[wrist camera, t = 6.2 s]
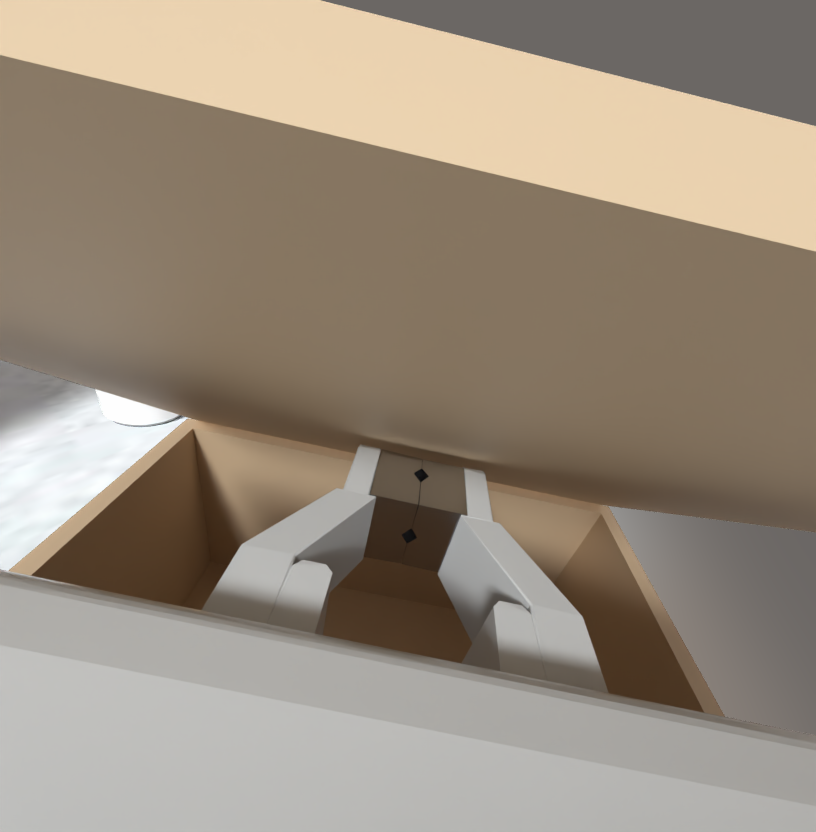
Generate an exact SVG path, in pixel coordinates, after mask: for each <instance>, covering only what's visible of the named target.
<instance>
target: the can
mask: <svg viewBox="0 0 816 832" xmlns="http://www.w3.org/2000/svg"><path fill="white" fill-rule="evenodd" d="M95 391H96V394H97V397H98V401H99V404H100V407H101V410H102V413H103V414H104V416H105V417H107V418H108V419H110V420H112V421H114V422H116V423H118V424H121V425H125V426H133V427H145V426H154V425H159V424H163V423H166V422H169V421H172V420H174V419H176V418H178V417H179V416H181V415H178V414H175V413H172V412H168V411H165V410H162V409H159V408H155V407H152V406H149V405H146V404H142V403H139V402H136V401H133V400H129V399H126V398H123V397H120V396H116V395H113V394H110V393H106V392H103V391H100V390H97V389H95Z"/></svg>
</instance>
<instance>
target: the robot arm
mask: <svg viewBox="0 0 816 832" xmlns="http://www.w3.org/2000/svg"><path fill="white" fill-rule="evenodd" d="M363 557H367V558H372V559H378V560H383V561H389V562H394V563H400V564H404V565H408V566H413V567H417V568H421V569H425V570H429V571H433V572H438V576H439V578H440V580H441V582H442V584H443V586H444V588H445V590H446V592H447V594H448V596H449V598H450V600H451V602H452V604H453V606H454V608H455V610H456V612H457V614H458V616H459V618H460V620H461V622H462V624H463V626H464V628H465V630H466V632H467V634H468V636H469V638H470V640H471V642H472V645H471V647H470V649H469V651H468V652H467V654H466V656H465V658H464V659H463V661H462V663H457V662H452V661H447V660H442V659H437V658H432V657H427V656H422V655H417V654H413V653H408V652H403V651H398V650H393V649H388V648H383V647H378V646H373V645H368V644H364V643H359V642H354V641H349V640H344V639H339V638H334V637H329V636H324V635H323V630H324V624H325V618H326V611H327V605H328V598H329V593H330V592H331V591H332V590H333V589H334V588H335V587H336V586H337V585H338V584H339V583H340V582H341V581H342V580H343V579H344V578H345V577H346V576H347V575H348V574H349V573H350V572H351V571H352V570H353V569H354V568H355V567H356V566H357V565H358V564H359V563H360V562H361V561H362V560H363ZM401 561H402V563H401ZM0 832H816V735H811V734H806V733H801V732H796V731H791V730H786V729H781V728H776V727H771V726H767V725H762V724H757V723H752V722H747V721H742V720H737V719H733V718H728V717H723V716H718V715H713V714H708V713H703V712H698V711H693V710H688V709H684V708H679V707H674V706H669V705H664V704H659V703H654V702H649V701H644V700H639V699H634V698H629V697H625V696H620V695H615V694H610V693H609V692H608V690H607V687H606V684H605V681H604V678H603V675H602V672H601V669H600V666H599V663H598V660H597V657H596V654H595V651H594V648H593V646H592V643H591V640H590V637H589V634H588V631H587V628H586V625H585V622H584V619H583V617H582V615H581V614H580V613H579V612H578V611H577V610H576V609H575V608H574V606H573V605H572V604H571V603H570V602H569V601H568V600H567V598H566V597H565V596H564V595H563V594H562V593H561V592H560V591H559V589H558V588H557V587H556V586H555V585H554V584H553V583H552V582H551V580H550V579H549V578H548V577H547V576H546V575H545V574H544V573H543V571H542V570H541V569H540V568H539V567H538V566H537V565H536V564H535V562H534V561H533V560H532V559H531V558H530V557H529V556H528V554H527V553H526V552H525V551H524V550H523V549H522V548H521V547H520V545H519V544H518V543H517V542H516V541H515V540H514V539H513V538H512V536H511V535H510V534H509V533H508V532H507V531H506V530H505V529H504V527H503V526H502V525H501V524H500V523H497V522H493V516H492V510H491V504H490V498H489V492H488V486H487V481H486V475H485V473H484V472H483V471H480V470H475V469H470V468H465V467H463V468H461V467H456V466H452V465H447V464H442V463H437V462H433V461H428V460H423V459H421V458H417V457H412V456H408V455H404V454H400V453H396V452H392V451H388V450H383V449H382V450H381V449H379V448H375V447H370V446H366V445H360V446H359V447H358V449H357V452H356V455H355V458H354V460H353V463H352V466H351V469H350V471H349V474H348V477H347V480H346V483H345V485H344V488H343V489H339V488H336V489H334V490H332V491H331V492H329V493H327V494H326V495H324V496H322V497H321V498H319V499H317V500H316V501H314V502H312V503H311V504H309V505H307V506H305V507H304V508H302V509H300V510H299V511H297V512H295V513H294V514H292V515H290V516H289V517H287V518H285V519H284V520H282V521H280V522H278V523H277V524H275V525H273V526H272V527H270V528H268V529H267V530H265V531H263V532H262V533H260V534H258V535H257V536H255V537H253V538H251V539H250V540H248V541H246V542H245V543H243V544H241V546H240V548H239V549H238V551H237V553H236V554H235V556H234V557H233V559H232V561H231V562H230V564H229V566H228V567H227V569H226V571H225V572H224V574H223V575H222V577H221V579H220V580H219V582H218V584H217V585H216V587H215V589H214V590H213V592H212V593H211V595H210V597H209V598H208V600H207V602H206V603H205V605H204V606H203V608H202V610H197V609H192V608H187V607H182V606H177V605H172V604H167V603H162V602H157V601H153V600H148V599H143V598H138V597H133V596H128V595H123V594H118V593H113V592H108V591H104V590H99V589H94V588H89V587H84V586H79V585H74V584H69V583H64V582H59V581H54V580H50V579H45V578H40V577H35V576H30V575H25V574H20V573H15V572H10V571H5V570H0Z"/></svg>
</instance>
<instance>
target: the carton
mask: <svg viewBox="0 0 816 832" xmlns="http://www.w3.org/2000/svg"><path fill="white" fill-rule="evenodd" d="M355 455H356V454H355V453H350V452H345V451H340V450H336V449H331V448H326V447H321V446H317V445H312V444H307V443H302V442H297V441H293V440H288V439H283V438H278V437H274V436H269V435H264V434H259V433H255V432H250V431H245V430H240V429H235V428H231V427H226V426H221V425H216V424H212V423H207V422H202V421H197V420H193V419H186V420H185V421H184V422H183V423H182V424H180V425H179V426H178V427H177V428H176V429H175V430H173V431H172V432H171V433H170V434H169V435H168V436H166V437H165V438H164V439H163V440H162V441H160V442H159V443H158V444H157V445H156V446H155V447H153V448H152V449H151V450H150V451H149V452H148V453H146V454H145V455H144V456H143V457H142V458H141V459H139V460H138V461H137V462H136V463H135V464H133V465H132V466H131V467H130V468H129V469H128V470H126V471H125V472H124V473H123V474H122V475H121V476H119V477H118V478H117V479H116V480H115V481H113V482H112V483H111V484H110V485H109V486H108V487H106V488H105V489H104V490H103V491H102V492H101V493H99V494H98V495H97V496H96V497H95V498H93V499H92V500H91V501H90V502H89V503H88V504H86V505H85V506H84V507H83V508H82V509H81V510H79V511H78V512H77V513H76V514H75V515H73V516H72V517H71V518H70V519H69V520H68V521H66V522H65V523H64V524H63V525H62V526H61V527H59V528H58V529H57V530H56V531H55V532H53V533H52V534H51V535H50V536H49V537H48V538H46V539H45V540H44V541H43V542H42V543H41V544H39V545H38V546H37V547H36V548H35V549H33V550H32V551H31V552H30V553H29V554H28V555H26V556H25V557H24V558H23V559H22V560H21V561H19V562H18V563H17V564H16V565H15V566H13V567H12V568H11V569H10V570H9V571H10V572H15V573H20V574H25V575H30V576H35V577H40V578H45V579H50V580H54V581H59V582H64V583H69V584H74V585H79V586H84V587H89V588H94V589H99V590H104V591H108V592H113V593H118V594H123V595H128V596H133V597H138V598H143V599H148V600H153V601H157V602H162V603H167V604H172V605H177V606H182V607H187V608H192V609H197V610H202V608H203V606H204V605H205V603H206V602H207V600H208V598H209V597H210V595H211V593H212V592H213V590H214V589H215V587H216V585H217V584H218V582H219V580H220V579H221V577H222V575H223V574H224V572H225V571H226V569H227V567H228V566H229V564H230V562H231V561H232V559H233V557H234V556H235V554H236V553H237V551H238V549H239V548H240V546H241V544H243V543H245V542H246V541H248V540H250V539H251V538H253V537H255V536H257V535H258V534H260V533H262V532H263V531H265V530H267V529H268V528H270V527H272V526H273V525H275V524H277V523H278V522H280V521H282V520H284V519H285V518H287V517H289V516H290V515H292V514H294V513H295V512H297V511H299V510H300V509H302V508H304V507H305V506H307V505H309V504H311V503H312V502H314V501H316V500H317V499H319V498H321V497H322V496H324V495H326V494H327V493H329V492H331V491H332V490H334V489H336V488H339V489H343V488H344V485H345V483H346V480H347V477H348V474H349V471H350V469H351V466H352V463H353V460H354V458H355ZM487 486H488V492H489V498H490V504H491V510H492V516H493V522H497V523H500V524H501V525H502V526H503V527H504V529H505V530H506V531H507V532H508V533H509V534H510V535H511V536H512V538H513V539H514V540H515V541H516V542H517V543H518V544H519V545H520V547H521V548H522V549H523V550H524V551H525V552H526V553H527V554H528V556H529V557H530V558H531V559H532V560H533V561H534V562H535V564H536V565H537V566H538V567H539V568H540V569H541V570H542V571H543V573H544V574H545V575H546V576H547V577H548V578H549V579H550V580H551V582H552V583H553V584H554V585H555V586H556V587H557V588H558V589H559V591H560V592H561V593H562V594H563V595H564V596H565V597H566V598H567V600H568V601H569V602H570V603H571V604H572V605H573V606H574V608H575V609H576V610H577V611H578V612H579V613H580V614H581V615H582V617H583V619H584V622H585V625H586V628H587V631H588V634H589V637H590V640H591V643H592V646H593V648H594V651H595V654H596V657H597V660H598V663H599V666H600V669H601V672H602V675H603V678H604V681H605V684H606V687H607V690H608V692H609V693H610V694H615V695H620V696H625V697H629V698H634V699H639V700H644V701H649V702H654V703H659V704H664V705H669V706H674V707H679V708H684V709H688V710H693V711H698V712H703V713H708V714H713V715H718V716H723V717H725V716H724V714H723V712H722V711H721V709H720V707H719V705H718V703H717V702H716V700H715V698H714V696H713V694H712V693H711V691H710V689H709V687H708V685H707V683H706V682H705V680H704V678H703V676H702V674H701V673H700V671H699V669H698V667H697V665H696V664H695V662H694V660H693V658H692V656H691V655H690V653H689V651H688V649H687V647H686V646H685V644H684V642H683V640H682V638H681V637H680V635H679V633H678V631H677V629H676V627H675V626H674V624H673V622H672V620H671V619H670V617H669V615H668V613H667V611H666V609H665V608H664V606H663V604H662V602H661V600H660V599H659V597H658V595H657V593H656V591H655V590H654V588H653V586H652V584H651V583H650V581H649V579H648V577H647V575H646V573H645V572H644V570H643V568H642V566H641V565H640V563H639V561H638V559H637V557H636V555H635V554H634V552H633V550H632V548H631V546H630V544H629V543H628V541H627V539H626V537H625V535H624V534H623V532H622V530H621V528H620V526H619V525H618V523H617V521H616V519H615V517H614V516H613V514H612V512H611V510H610V508H609V507H608V506H603V505H598V504H593V503H589V502H584V501H579V500H574V499H569V498H565V497H560V496H555V495H550V494H546V493H541V492H536V491H531V490H526V489H522V488H517V487H512V486H507V485H503V484H498V483H493V482H488V481H487ZM401 563H402V561H401ZM323 635H324V636H329V637H334V638H339V639H344V640H349V641H354V642H359V643H364V644H368V645H373V646H378V647H383V648H388V649H393V650H398V651H403V652H408V653H413V654H417V655H422V656H427V657H432V658H437V659H442V660H447V661H452V662H457V663H462V661H463V659H464V658H465V656H466V654H467V652H468V651H469V649H470V647H471V645H472V642H471V640H470V638H469V636H468V634H467V632H466V630H465V628H464V626H463V624H462V622H461V620H460V618H459V616H458V614H457V612H456V610H455V608H454V606H453V604H452V602H451V600H450V598H449V596H448V594H447V592H446V590H445V588H444V586H443V584H442V582H441V580H440V578H439V576H438V572H433V571H429V570H425V569H421V568H417V567H413V566H408V565H404V564H400V563H394V562H389V561H383V560H378V559H372V558H367V557H363V560H362V561H361V562H360V563H359V564H358V565H357V566H356V567H355V568H354V569H353V570H352V571H351V572H350V573H349V574H348V575H347V576H346V577H345V578H344V579H343V580H342V581H341V582H340V583H339V584H338V585H337V586H336V587H335V588H334V589H333V590H332V591H331V592H330V593H329V598H328V605H327V611H326V618H325V624H324V630H323Z"/></svg>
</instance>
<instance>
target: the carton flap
mask: <svg viewBox="0 0 816 832" xmlns="http://www.w3.org/2000/svg"><path fill="white" fill-rule="evenodd" d="M0 360H2V361H5V362H9V363H12V364H15V365H18V366H22V367H25V368H28V369H32V370H35V371H38V372H41V373H45V374H48V375H51V376H54V377H58V378H61V379H64V380H67V381H71V382H74V383H77V384H80V385H84V386H87V387H90V388H93V389H97V390H100V391H103V392H106V393H110V394H113V395H116V396H120V397H123V398H126V399H129V400H133V401H136V402H139V403H142V404H146V405H149V406H152V407H155V408H159V409H162V410H165V411H168V412H172V413H175V414H178V415H181V416H185V417H188V418H191V419H194V420H198V421H202V422H207V423H212V424H216V425H221V426H226V427H231V428H235V429H240V430H245V431H250V432H255V433H259V434H264V435H269V436H274V437H278V438H283V439H288V440H293V441H297V442H302V443H307V444H312V445H317V446H321V447H326V448H331V449H336V450H340V451H345V452H350V453H355V454H356V452H357V449H358V447H359V446H360V445H366V446H370V447H375V448H379V449H381V450H382V449H383V450H388V451H392V452H396V453H400V454H404V455H408V456H412V457H417V458H421V459H423V460H428V461H433V462H437V463H442V464H447V465H452V466H456V467H461V468H463V467H465V468H470V469H475V470H480V471H483V472H484V473H485V475H486V481H488V482H493V483H498V484H503V485H507V486H512V487H517V488H522V489H526V490H531V491H536V492H541V493H546V494H550V495H555V496H560V497H565V498H569V499H574V500H579V501H584V502H589V503H593V504H598V505H606V506H614V507H621V508H630V509H637V510H645V511H653V512H661V513H668V514H676V515H685V516H692V517H700V518H708V519H716V520H723V521H731V522H739V523H747V524H755V525H763V526H770V527H778V528H787V529H794V530H802V531H810V532H816V126H812V125H808V124H804V123H800V122H797V121H793V120H789V119H785V118H780V117H777V116H773V115H769V114H765V113H761V112H757V111H753V110H749V109H745V108H741V107H737V106H734V105H730V104H726V103H722V102H718V101H714V100H710V99H706V98H702V97H698V96H694V95H690V94H686V93H682V92H678V91H674V90H670V89H667V88H663V87H659V86H655V85H651V84H647V83H643V82H639V81H635V80H631V79H627V78H623V77H620V76H615V75H611V74H607V73H603V72H599V71H596V70H592V69H588V68H584V67H580V66H576V65H572V64H568V63H564V62H560V61H556V60H553V59H548V58H545V57H541V56H537V55H533V54H529V53H525V52H521V51H517V50H513V49H509V48H505V47H501V46H497V45H493V44H490V43H486V42H482V41H477V40H474V39H470V38H466V37H462V36H458V35H454V34H450V33H446V32H442V31H438V30H435V29H431V28H426V27H423V26H419V25H415V24H411V23H407V22H403V21H399V20H395V19H391V18H387V17H383V16H380V15H375V14H371V13H368V12H364V11H360V10H356V9H352V8H348V7H344V6H340V5H336V4H332V3H328V2H324V1H321V0H0Z"/></svg>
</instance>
